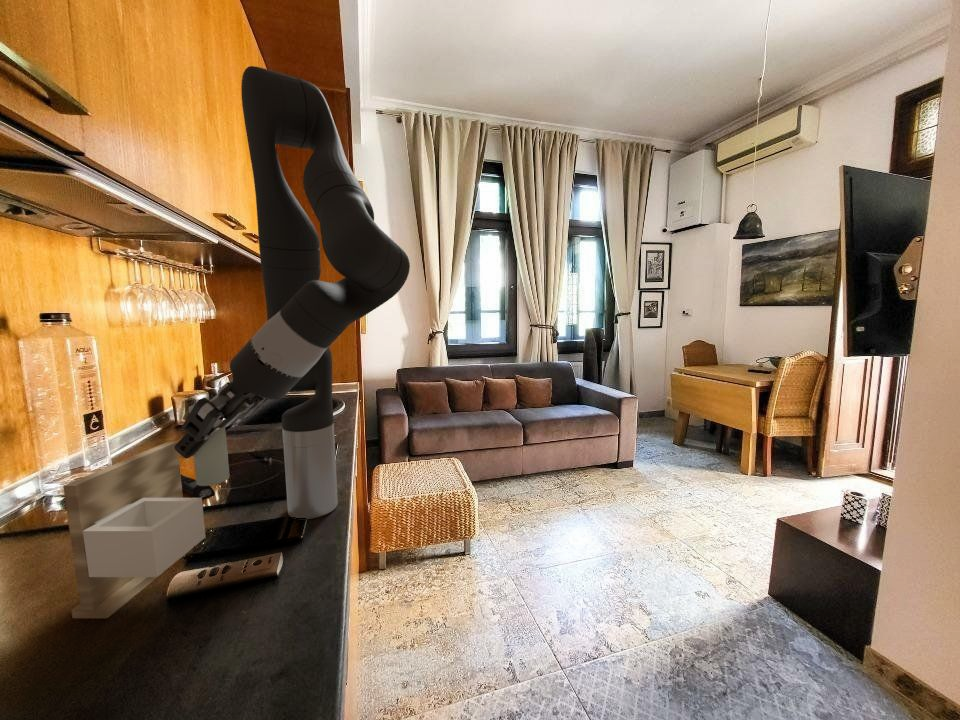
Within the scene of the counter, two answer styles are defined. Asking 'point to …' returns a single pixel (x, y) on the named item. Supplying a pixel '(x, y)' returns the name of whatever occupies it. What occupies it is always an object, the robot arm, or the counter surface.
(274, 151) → the robot arm
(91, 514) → the oak board
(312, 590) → the counter surface
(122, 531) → the grey open box
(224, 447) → the pale green rounded cylinder
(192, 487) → the electric trimmer
